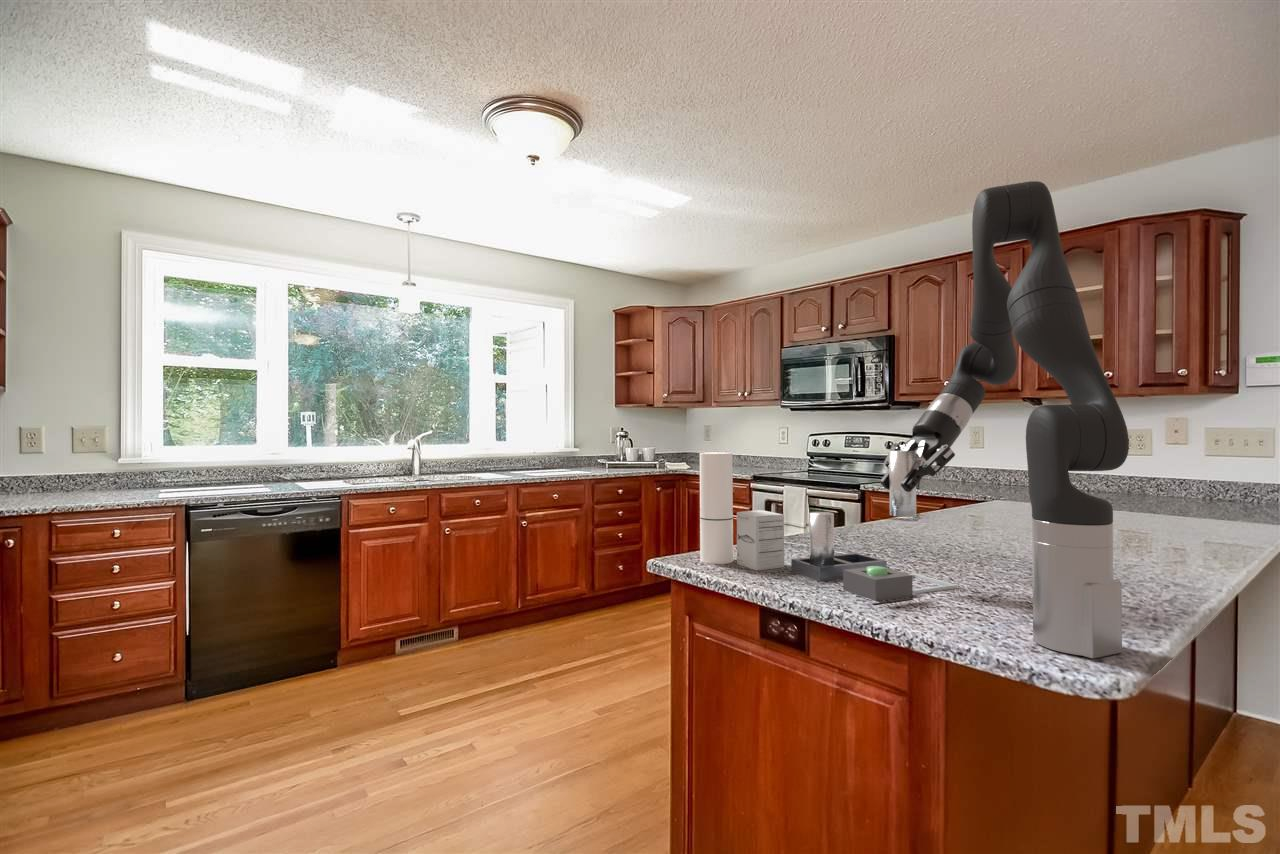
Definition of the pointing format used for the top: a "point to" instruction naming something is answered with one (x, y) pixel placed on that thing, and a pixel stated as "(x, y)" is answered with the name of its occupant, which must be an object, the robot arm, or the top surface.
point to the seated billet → (821, 538)
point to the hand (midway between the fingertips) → (894, 487)
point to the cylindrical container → (716, 508)
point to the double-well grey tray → (834, 566)
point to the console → (878, 585)
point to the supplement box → (760, 539)
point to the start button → (877, 570)
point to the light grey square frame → (936, 588)
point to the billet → (898, 470)
